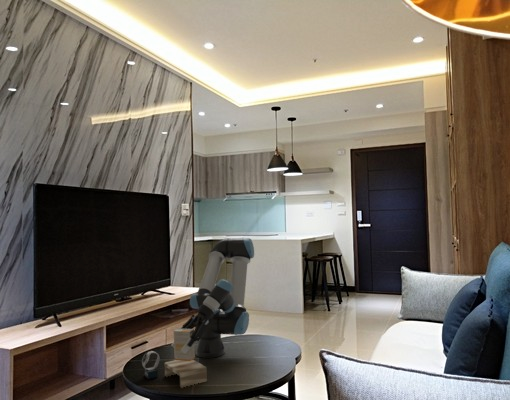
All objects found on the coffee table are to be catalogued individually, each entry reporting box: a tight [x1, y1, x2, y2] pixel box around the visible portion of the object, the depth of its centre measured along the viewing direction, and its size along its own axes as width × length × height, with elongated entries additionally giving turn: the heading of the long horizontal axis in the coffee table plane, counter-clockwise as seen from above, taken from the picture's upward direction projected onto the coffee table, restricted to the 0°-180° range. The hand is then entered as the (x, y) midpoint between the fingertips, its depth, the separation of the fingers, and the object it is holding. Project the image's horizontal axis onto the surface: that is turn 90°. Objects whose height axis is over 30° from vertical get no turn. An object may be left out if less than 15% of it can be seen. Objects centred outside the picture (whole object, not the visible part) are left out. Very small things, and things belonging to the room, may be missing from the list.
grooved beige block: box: [164, 359, 208, 389], centre depth 180 cm, size 18×12×6 cm, turn 36°
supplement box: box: [173, 327, 196, 361], centre depth 180 cm, size 8×5×13 cm, turn 71°
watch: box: [141, 350, 161, 380], centre depth 184 cm, size 6×8×11 cm
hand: (178, 349), depth 178 cm, fingers closed on supplement box, 9 cm apart
